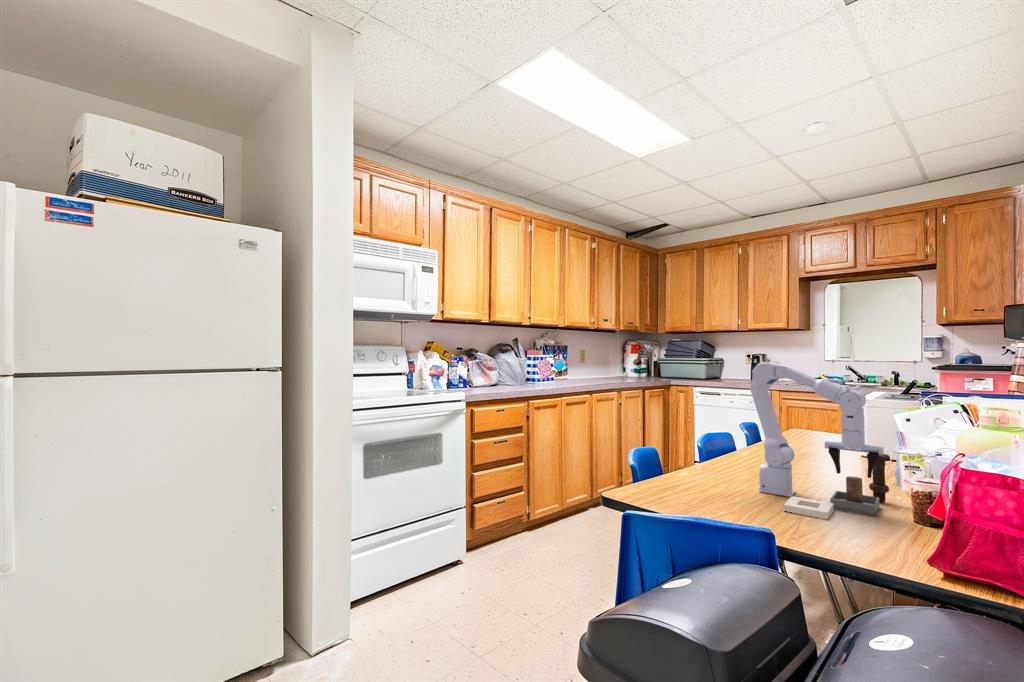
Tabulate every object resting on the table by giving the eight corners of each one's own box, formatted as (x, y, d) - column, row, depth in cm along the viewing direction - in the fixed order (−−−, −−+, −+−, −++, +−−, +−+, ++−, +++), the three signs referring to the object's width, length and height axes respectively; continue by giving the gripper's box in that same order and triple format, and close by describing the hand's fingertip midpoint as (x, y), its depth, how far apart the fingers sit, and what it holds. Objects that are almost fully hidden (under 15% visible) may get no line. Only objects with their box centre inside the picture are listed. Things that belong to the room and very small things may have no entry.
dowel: (845, 504, 145) (844, 478, 146) (848, 501, 148) (847, 475, 148) (861, 507, 142) (860, 480, 143) (864, 504, 145) (863, 478, 146)
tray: (830, 508, 145) (830, 498, 145) (836, 500, 153) (835, 490, 153) (875, 516, 138) (875, 506, 138) (879, 507, 146) (879, 497, 146)
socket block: (783, 511, 143) (783, 504, 143) (792, 502, 151) (791, 496, 151) (827, 519, 135) (827, 512, 135) (833, 510, 144) (833, 503, 144)
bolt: (893, 505, 148) (892, 456, 148) (875, 504, 149) (874, 455, 149) (883, 499, 153) (882, 452, 154) (865, 498, 154) (864, 452, 155)
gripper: (822, 429, 148) (823, 473, 148) (881, 434, 138) (882, 481, 138) (826, 426, 153) (827, 469, 153) (883, 431, 144) (884, 477, 143)
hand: (853, 475), depth 146 cm, fingers open, 7 cm apart
